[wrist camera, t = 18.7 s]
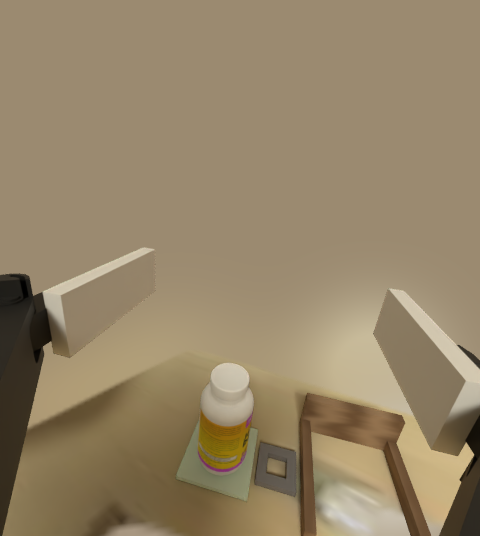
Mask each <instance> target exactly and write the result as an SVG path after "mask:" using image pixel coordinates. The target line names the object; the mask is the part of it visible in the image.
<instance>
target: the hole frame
mask: <svg viewBox="0 0 480 536" xmlns="http://www.w3.org/2000/svg"><path fill="white" fill-rule="evenodd" d="M268 457H270V458H273V459H277V460H280V461H284V462H286V479H285V478H282V477H278V476H275V475H271V474H268V473H266V468H267V459H268ZM255 485H258V486H261V487H264V488H268V489H271V490H274V491H278V492H281V493H284V494H287V495H291V496H294V497H295V495H296V452H294V451H291V450H287V449H283V448H280V447H276V446H273V445H269V444H265V443H262V442H261V443H260V449H259V456H258V463H257V470H256V478H255Z"/></svg>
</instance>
